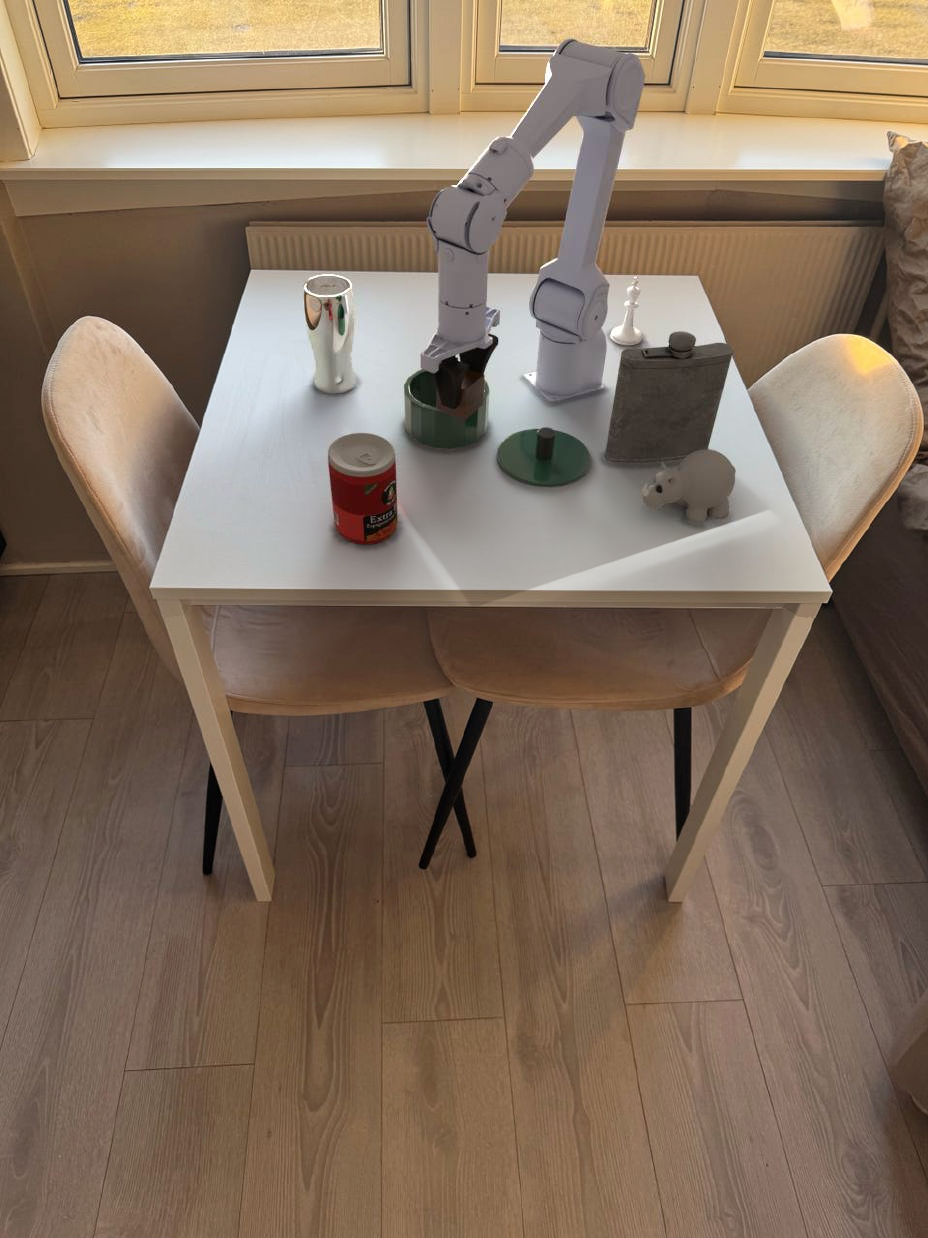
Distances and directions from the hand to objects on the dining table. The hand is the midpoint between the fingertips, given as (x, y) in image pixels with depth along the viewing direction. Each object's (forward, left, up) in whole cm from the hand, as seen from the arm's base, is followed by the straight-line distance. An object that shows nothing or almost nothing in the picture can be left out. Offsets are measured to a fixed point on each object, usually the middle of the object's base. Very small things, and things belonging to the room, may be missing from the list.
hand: (460, 397), depth 118 cm
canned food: (+17, +9, -9) cm, 21 cm away
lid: (-10, +6, -8) cm, 14 cm away
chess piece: (-38, -17, -9) cm, 43 cm away
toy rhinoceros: (-20, +23, -9) cm, 32 cm away
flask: (-24, +12, -9) cm, 28 cm away
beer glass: (+9, -23, -9) cm, 27 cm away
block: (0, 0, -1) cm, 1 cm away
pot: (-1, -6, -9) cm, 11 cm away
